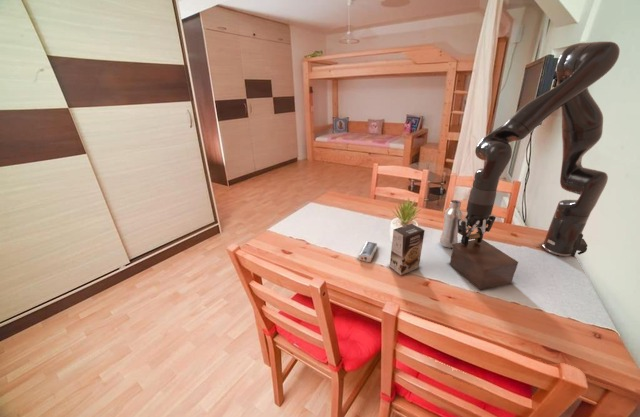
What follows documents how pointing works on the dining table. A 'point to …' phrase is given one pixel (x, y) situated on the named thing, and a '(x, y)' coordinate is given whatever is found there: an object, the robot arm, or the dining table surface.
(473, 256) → the lid
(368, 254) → the multiport hub
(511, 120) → the robot arm
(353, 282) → the dining table surface
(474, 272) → the chest
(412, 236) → the coffee box
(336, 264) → the dining table surface
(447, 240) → the silver metal bottle
